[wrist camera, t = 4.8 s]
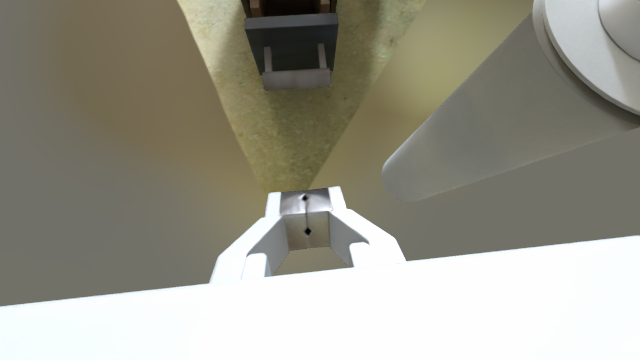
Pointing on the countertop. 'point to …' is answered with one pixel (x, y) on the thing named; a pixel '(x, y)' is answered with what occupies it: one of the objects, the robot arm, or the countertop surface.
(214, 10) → the countertop surface
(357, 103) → the countertop surface
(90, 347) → the robot arm
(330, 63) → the drawer
